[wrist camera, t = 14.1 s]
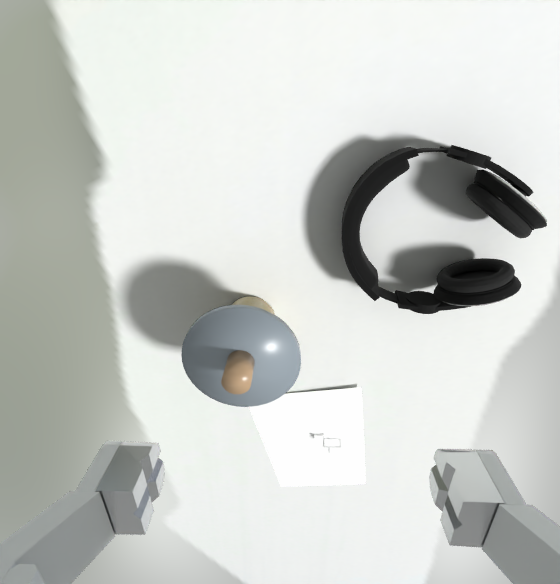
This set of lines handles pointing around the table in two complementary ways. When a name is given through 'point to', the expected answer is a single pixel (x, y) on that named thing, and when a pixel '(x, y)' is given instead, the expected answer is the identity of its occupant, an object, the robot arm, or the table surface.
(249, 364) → the lid
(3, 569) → the robot arm
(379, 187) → the headphones
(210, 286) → the table surface
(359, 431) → the paper sheet
